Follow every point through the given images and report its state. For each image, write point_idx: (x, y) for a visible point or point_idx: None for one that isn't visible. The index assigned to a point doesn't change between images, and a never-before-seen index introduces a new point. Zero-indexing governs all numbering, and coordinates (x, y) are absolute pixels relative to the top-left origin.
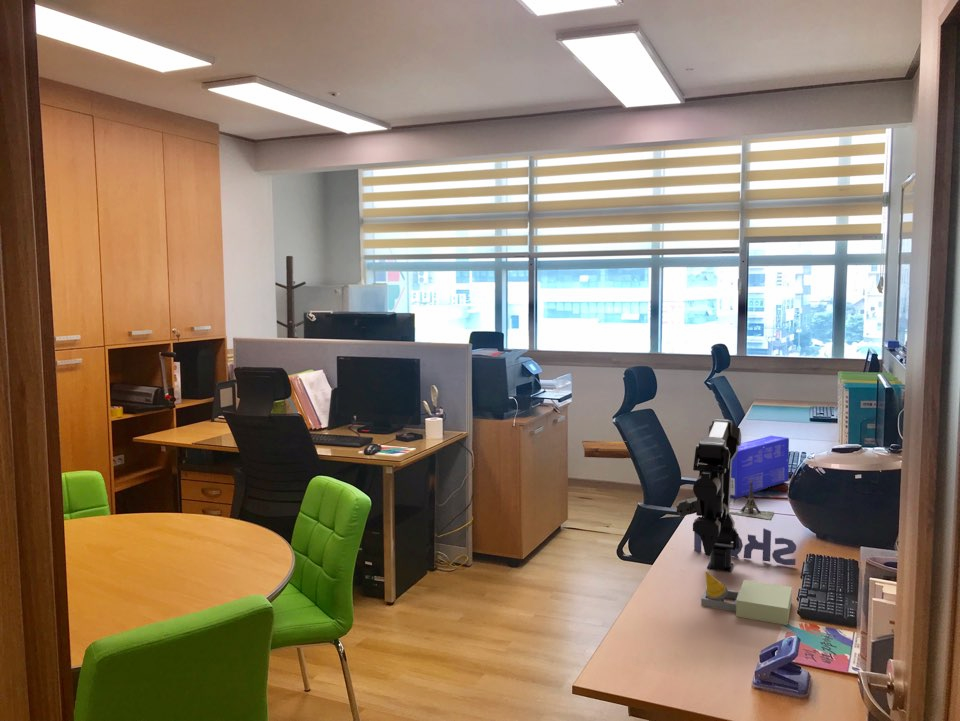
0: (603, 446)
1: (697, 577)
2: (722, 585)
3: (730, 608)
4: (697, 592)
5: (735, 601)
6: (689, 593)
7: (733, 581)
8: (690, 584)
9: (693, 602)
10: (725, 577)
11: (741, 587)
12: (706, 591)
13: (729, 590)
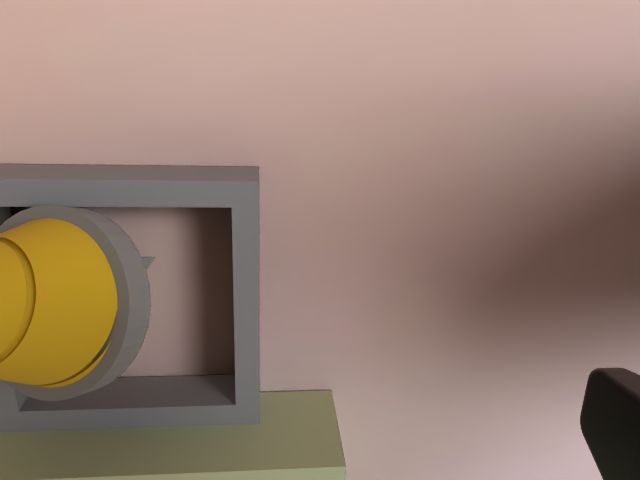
0: None
1: (580, 39)
2: (32, 383)
3: None
4: (242, 91)
5: (51, 411)
6: (188, 29)
7: (562, 303)
8: (399, 4)
9: (8, 94)
10: (627, 244)
11: (167, 477)
12: (56, 213)
13: (247, 347)
